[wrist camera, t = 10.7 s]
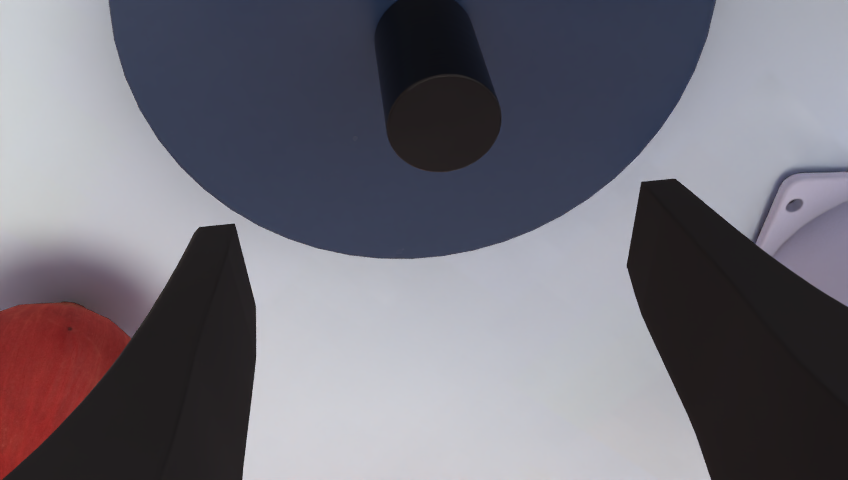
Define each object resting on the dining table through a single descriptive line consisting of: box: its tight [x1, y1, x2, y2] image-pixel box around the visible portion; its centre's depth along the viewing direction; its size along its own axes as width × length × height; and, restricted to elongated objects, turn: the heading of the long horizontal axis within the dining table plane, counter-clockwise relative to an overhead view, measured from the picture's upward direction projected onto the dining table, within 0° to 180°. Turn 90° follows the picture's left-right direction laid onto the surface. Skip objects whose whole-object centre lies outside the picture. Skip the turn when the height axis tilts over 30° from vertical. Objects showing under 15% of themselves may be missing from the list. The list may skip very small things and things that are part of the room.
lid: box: [109, 0, 716, 259], centre depth 19 cm, size 14×14×5 cm
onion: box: [0, 302, 131, 480], centre depth 23 cm, size 6×6×8 cm
